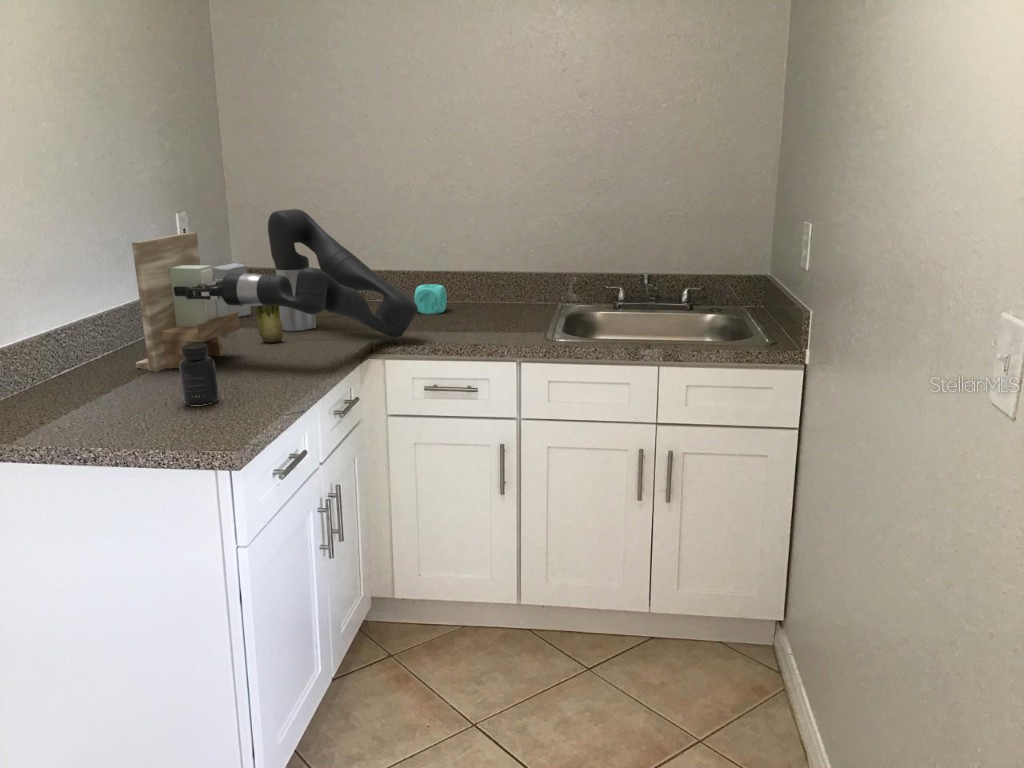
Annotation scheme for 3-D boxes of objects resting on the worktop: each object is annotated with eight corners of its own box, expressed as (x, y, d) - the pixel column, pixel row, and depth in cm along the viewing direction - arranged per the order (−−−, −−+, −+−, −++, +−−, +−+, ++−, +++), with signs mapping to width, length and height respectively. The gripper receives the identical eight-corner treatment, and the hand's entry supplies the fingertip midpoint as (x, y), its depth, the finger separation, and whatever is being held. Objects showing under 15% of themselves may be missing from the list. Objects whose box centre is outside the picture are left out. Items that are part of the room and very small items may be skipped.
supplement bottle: (189, 398, 177) (182, 342, 173) (222, 396, 177) (216, 340, 174) (179, 408, 170) (172, 350, 167) (214, 406, 171) (207, 348, 167)
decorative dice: (414, 314, 260) (413, 288, 258) (423, 309, 268) (421, 283, 265) (439, 314, 258) (438, 288, 256) (447, 309, 266) (446, 284, 264)
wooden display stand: (249, 351, 215) (236, 232, 207) (199, 374, 195) (183, 243, 187) (186, 349, 220) (171, 232, 211) (131, 370, 199) (112, 242, 191)
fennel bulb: (257, 343, 225) (252, 298, 222) (268, 339, 229) (264, 295, 226) (276, 344, 223) (271, 299, 220) (286, 340, 227) (282, 296, 224)
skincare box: (238, 312, 266) (233, 262, 262) (253, 315, 262) (248, 264, 258) (215, 317, 260) (209, 265, 255) (230, 320, 256) (224, 267, 251)
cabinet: (218, 323, 206) (212, 265, 202) (207, 327, 202) (200, 268, 198) (188, 322, 208) (181, 265, 204) (176, 326, 204) (169, 268, 200)
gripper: (232, 311, 193) (169, 309, 197) (263, 300, 206) (204, 298, 210) (228, 278, 191) (165, 277, 195) (260, 269, 204) (200, 268, 208)
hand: (185, 288), depth 202 cm, fingers open, 8 cm apart
